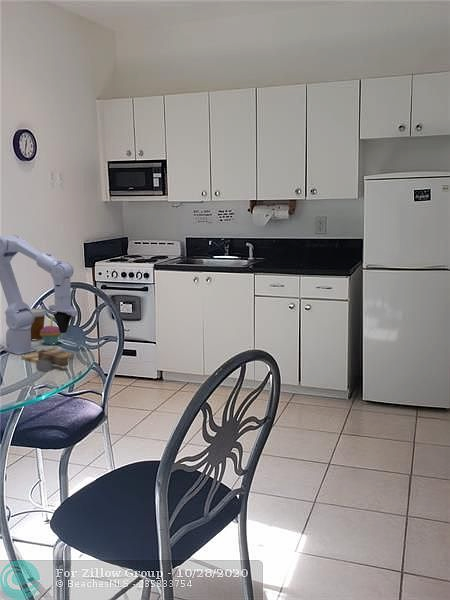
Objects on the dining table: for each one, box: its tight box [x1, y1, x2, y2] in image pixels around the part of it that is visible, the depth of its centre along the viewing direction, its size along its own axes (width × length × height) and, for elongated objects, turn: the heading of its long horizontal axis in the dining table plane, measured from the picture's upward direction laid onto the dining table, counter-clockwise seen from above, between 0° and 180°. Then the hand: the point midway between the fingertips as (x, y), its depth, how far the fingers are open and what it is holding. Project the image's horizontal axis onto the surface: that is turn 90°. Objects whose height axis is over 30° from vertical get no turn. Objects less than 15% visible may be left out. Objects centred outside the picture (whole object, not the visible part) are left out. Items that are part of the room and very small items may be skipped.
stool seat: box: [21, 348, 75, 364], centre depth 226 cm, size 12×14×1 cm
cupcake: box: [40, 314, 63, 345], centre depth 246 cm, size 9×8×12 cm
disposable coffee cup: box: [30, 307, 47, 341], centre depth 252 cm, size 10×10×12 cm
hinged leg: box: [37, 348, 69, 368], centre depth 215 cm, size 14×3×4 cm, turn 53°
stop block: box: [35, 359, 55, 373], centre depth 212 cm, size 5×4×3 cm
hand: (63, 332), depth 226 cm, fingers closed
